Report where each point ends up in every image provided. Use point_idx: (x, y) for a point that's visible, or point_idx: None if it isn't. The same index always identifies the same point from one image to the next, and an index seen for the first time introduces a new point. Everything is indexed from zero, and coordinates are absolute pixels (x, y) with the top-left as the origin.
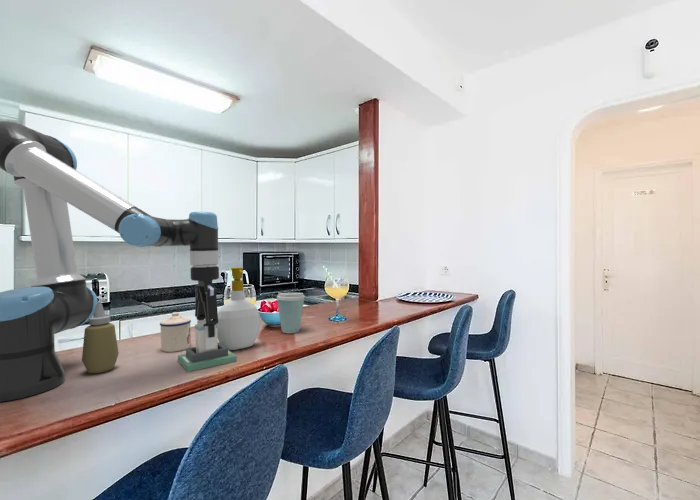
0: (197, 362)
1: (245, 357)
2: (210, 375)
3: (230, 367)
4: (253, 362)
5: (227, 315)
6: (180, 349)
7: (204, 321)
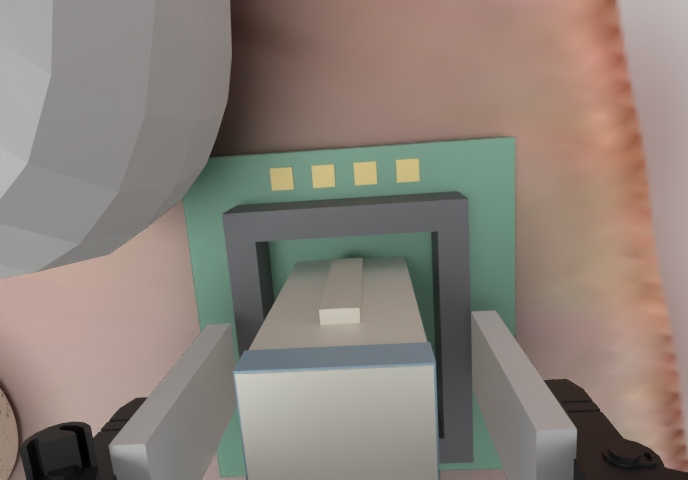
0: (475, 404)
1: (457, 50)
2: (664, 349)
3: (607, 209)
4: (620, 32)
5: (95, 145)
6: (10, 417)
7: (158, 467)
